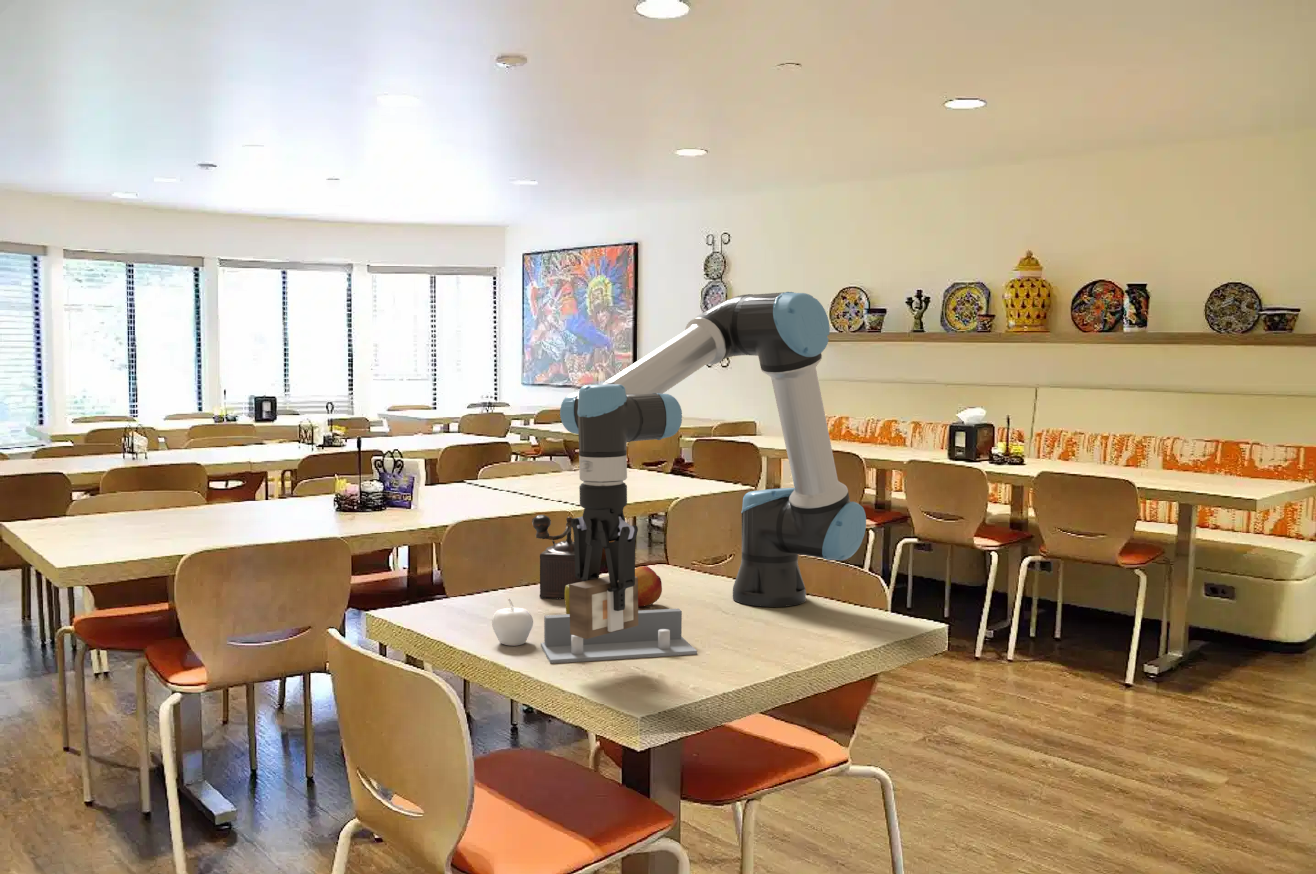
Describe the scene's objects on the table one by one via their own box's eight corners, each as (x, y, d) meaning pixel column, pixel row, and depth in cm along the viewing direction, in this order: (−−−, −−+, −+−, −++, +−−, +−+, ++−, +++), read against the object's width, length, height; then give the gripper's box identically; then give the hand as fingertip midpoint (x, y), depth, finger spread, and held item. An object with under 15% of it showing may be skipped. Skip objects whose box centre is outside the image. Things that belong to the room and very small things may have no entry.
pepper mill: (547, 588, 238) (547, 505, 236) (597, 590, 236) (597, 507, 235) (529, 604, 222) (528, 516, 221) (582, 606, 221) (582, 517, 219)
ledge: (679, 638, 196) (679, 607, 196) (696, 654, 185) (697, 621, 185) (540, 646, 190) (540, 614, 189) (550, 663, 179) (550, 629, 179)
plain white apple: (495, 638, 195) (495, 593, 195) (535, 638, 195) (535, 594, 194) (488, 648, 188) (488, 602, 188) (529, 649, 188) (529, 603, 187)
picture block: (621, 621, 180) (621, 573, 180) (639, 625, 177) (638, 577, 177) (570, 634, 173) (569, 584, 172) (587, 639, 170) (586, 588, 169)
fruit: (667, 609, 218) (667, 569, 218) (627, 611, 216) (627, 571, 216) (657, 600, 226) (657, 562, 225) (619, 602, 224) (619, 564, 223)
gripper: (550, 479, 177) (552, 621, 179) (622, 489, 164) (624, 642, 166) (585, 475, 182) (587, 613, 184) (658, 484, 169) (659, 632, 172)
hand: (605, 626), depth 175 cm, fingers closed on picture block, 4 cm apart
